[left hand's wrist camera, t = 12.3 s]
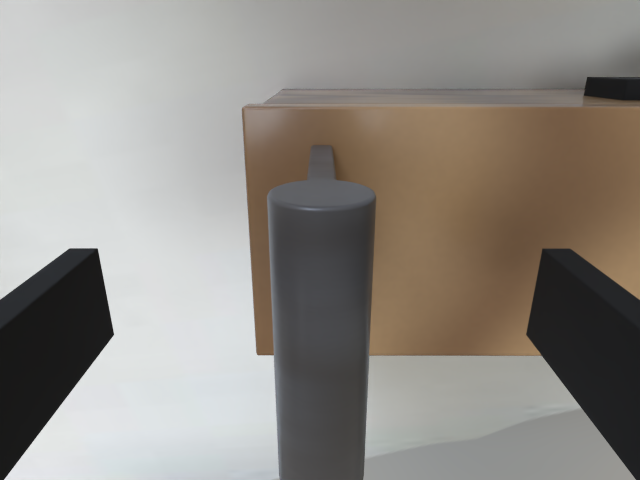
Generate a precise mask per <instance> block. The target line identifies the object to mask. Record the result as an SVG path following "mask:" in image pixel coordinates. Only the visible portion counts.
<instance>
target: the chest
mask: <svg viewBox="0 0 640 480" xmlns="http://www.w3.org/2000/svg"><path fill="white" fill-rule="evenodd" d="M584 91H585V89H282V90H281V91H280V92H279V93H277V94H276V95H274V96H273V97H272V98H270V99H269V100H267V101H266V102H264V103H263V104H640V100H616V99H608V98H600V97H592V96H584Z"/></svg>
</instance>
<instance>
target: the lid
mask: <svg viewBox="0 0 640 480" xmlns="http://www.w3.org/2000/svg"><path fill="white" fill-rule="evenodd" d="M242 120H243V136H244V153H245V170H246V186H247V203H248V220H249V236H250V253H251V270H252V287H253V303H254V320H255V337H256V353H257V355H274V367H275V390H276V413H277V436H278V459H279V477H280V480H363V476H364V457H365V435H366V413H367V392H368V370H369V355H482V356H542V355H541V354H540V352H539V351H538V350H537V348H536V347H535V346H534V345H533V343H532V342H531V341H530V339H529V338H528V337H527V335H526V332H527V327H528V322H529V317H530V311H531V306H532V301H533V295H534V290H535V285H536V280H537V274H538V269H539V264H540V259H541V253H542V249H572V250H573V251H574V252H576V253H577V254H578V255H580V256H581V257H582V258H584V259H585V260H587V261H588V262H589V263H591V264H592V265H593V266H595V267H596V268H597V269H599V270H600V271H601V272H603V273H604V274H605V275H607V276H608V277H609V278H611V279H612V280H614V281H615V282H616V283H618V284H619V285H620V286H622V287H623V288H624V289H626V290H627V291H628V292H630V293H631V294H632V295H634V296H635V297H637V298H638V299H639V300H640V104H248V105H246V106H244V107H243V108H242Z"/></svg>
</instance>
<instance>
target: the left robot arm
mask: <svg viewBox="0 0 640 480" xmlns="http://www.w3.org/2000/svg"><path fill="white" fill-rule="evenodd" d="M113 335H114V332H113V327H112V322H111V316H110V311H109V306H108V301H107V295H106V290H105V285H104V280H103V274H102V269H101V264H100V259H99V253H98V249H68V250H67V251H66V252H64V253H63V254H62V255H60V256H59V257H58V258H56V259H55V260H54V261H52V262H51V263H49V264H48V265H47V266H45V267H44V268H43V269H41V270H40V271H39V272H37V273H36V274H35V275H33V276H32V277H31V278H29V279H28V280H26V281H25V282H24V283H22V284H21V285H20V286H18V287H17V288H16V289H14V290H13V291H12V292H10V293H9V294H8V295H6V296H5V297H3V298H2V299H1V300H0V480H4V479H5V478H6V476H7V475H8V474H9V472H10V471H11V470H12V468H13V467H14V466H15V464H16V463H17V462H18V460H19V459H20V458H21V456H22V455H23V454H24V453H25V451H26V450H27V449H28V447H29V446H30V445H31V443H32V442H33V441H34V439H35V438H36V437H37V435H38V434H39V433H40V431H41V430H42V429H43V428H44V426H45V425H46V424H47V422H48V421H49V420H50V418H51V417H52V416H53V414H54V413H55V412H56V410H57V409H58V408H59V406H60V405H61V404H62V402H63V401H64V400H65V399H66V397H67V396H68V395H69V393H70V392H71V391H72V389H73V388H74V387H75V385H76V384H77V383H78V381H79V380H80V379H81V377H82V376H83V375H84V374H85V372H86V371H87V370H88V368H89V367H90V366H91V364H92V363H93V362H94V360H95V359H96V358H97V356H98V355H99V354H100V352H101V351H102V350H103V348H104V347H105V346H106V345H107V343H108V342H109V341H110V339H111V338H112V337H113ZM526 335H527V337H528V338H529V339H530V341H531V342H532V343H533V345H534V346H535V347H536V348H537V350H538V351H539V352H540V354H541V355H542V356H543V358H544V359H545V360H546V362H547V363H548V364H549V366H550V367H551V368H552V370H553V371H554V372H555V374H556V375H557V376H558V377H559V379H560V380H561V381H562V383H563V384H564V385H565V387H566V388H567V389H568V391H569V392H570V393H571V395H572V396H573V397H574V399H575V400H576V401H577V402H578V404H579V405H580V406H581V408H582V409H583V410H584V412H585V413H586V414H587V416H588V417H589V418H590V420H591V421H592V422H593V423H594V425H595V426H596V427H597V429H598V430H599V431H600V433H601V434H602V435H603V437H604V438H605V439H606V441H607V442H608V443H609V445H610V446H611V447H612V449H613V450H614V451H615V452H616V454H617V455H618V456H619V458H620V459H621V460H622V462H623V463H624V464H625V466H626V467H627V468H628V470H629V471H630V472H631V474H632V475H633V476H634V478H635V479H636V480H640V300H639V299H638V298H637V297H635V296H634V295H632V294H631V293H630V292H628V291H627V290H626V289H624V288H623V287H622V286H620V285H619V284H618V283H616V282H615V281H614V280H612V279H611V278H609V277H608V276H607V275H605V274H604V273H603V272H601V271H600V270H599V269H597V268H596V267H595V266H593V265H592V264H591V263H589V262H588V261H587V260H585V259H584V258H582V257H581V256H580V255H578V254H577V253H576V252H574V251H573V250H572V249H542V253H541V259H540V264H539V269H538V274H537V280H536V285H535V290H534V295H533V301H532V306H531V311H530V317H529V322H528V327H527V332H526Z"/></svg>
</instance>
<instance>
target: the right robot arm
mask: <svg viewBox="0 0 640 480" xmlns="http://www.w3.org/2000/svg"><path fill="white" fill-rule="evenodd" d="M584 96H592V97H600V98H608V99H616V100H640V77H587V81H586V86H585V91H584Z"/></svg>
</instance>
